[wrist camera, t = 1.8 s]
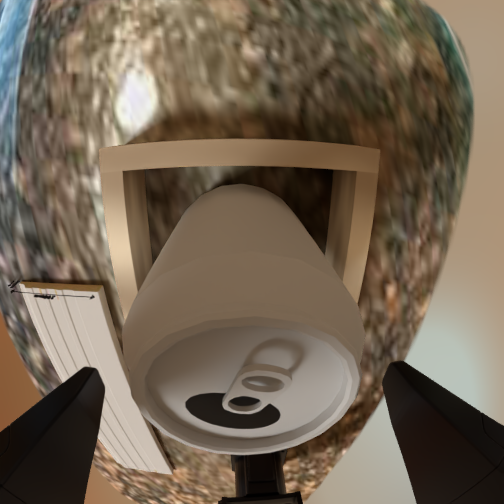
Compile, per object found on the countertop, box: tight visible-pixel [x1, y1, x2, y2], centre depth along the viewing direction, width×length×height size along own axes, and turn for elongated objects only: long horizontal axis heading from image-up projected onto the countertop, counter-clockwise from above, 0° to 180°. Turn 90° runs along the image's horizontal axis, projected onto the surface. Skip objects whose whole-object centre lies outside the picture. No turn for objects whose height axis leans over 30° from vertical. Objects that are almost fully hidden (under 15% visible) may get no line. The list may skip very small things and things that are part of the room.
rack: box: [99, 139, 380, 321], centre depth 16 cm, size 15×13×4 cm
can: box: [122, 184, 365, 455], centre depth 12 cm, size 8×8×12 cm
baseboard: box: [8, 281, 173, 474], centre depth 23 cm, size 30×3×10 cm
